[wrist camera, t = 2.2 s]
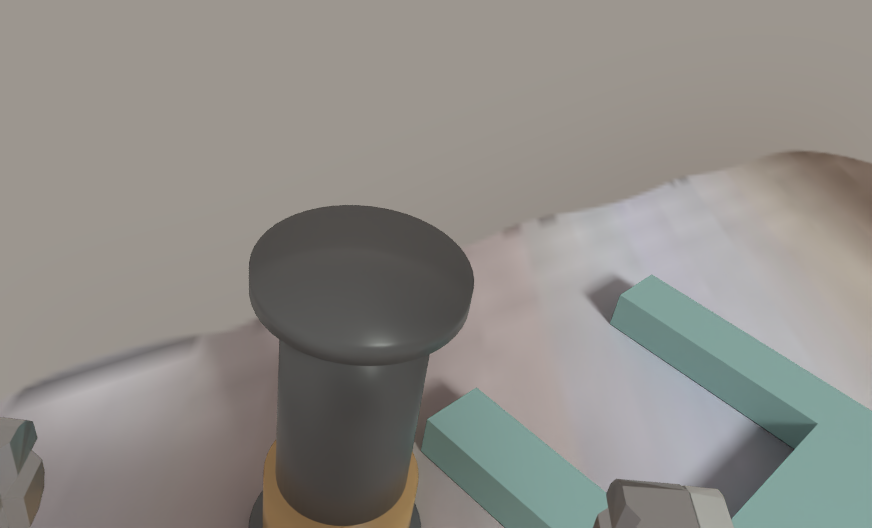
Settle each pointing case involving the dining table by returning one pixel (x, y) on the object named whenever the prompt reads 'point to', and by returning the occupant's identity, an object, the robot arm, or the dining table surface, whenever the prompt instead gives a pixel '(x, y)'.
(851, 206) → the dining table surface
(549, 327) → the dining table surface
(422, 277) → the door knob
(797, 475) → the notched board
